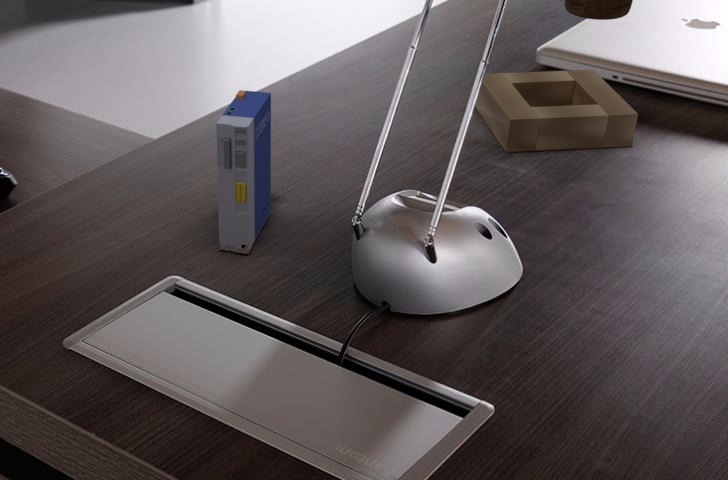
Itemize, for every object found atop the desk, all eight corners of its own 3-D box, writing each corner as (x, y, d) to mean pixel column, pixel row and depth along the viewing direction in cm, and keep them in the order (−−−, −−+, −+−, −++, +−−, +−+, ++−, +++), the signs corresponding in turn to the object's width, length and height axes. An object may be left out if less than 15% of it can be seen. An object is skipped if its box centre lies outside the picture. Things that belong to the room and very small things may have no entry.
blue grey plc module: (241, 211, 99) (239, 86, 93) (270, 215, 99) (271, 88, 92) (217, 252, 93) (213, 120, 86) (248, 256, 92) (247, 123, 86)
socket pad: (587, 99, 121) (592, 69, 119) (632, 146, 110) (638, 113, 108) (472, 104, 120) (476, 74, 118) (505, 152, 109) (510, 119, 107)
